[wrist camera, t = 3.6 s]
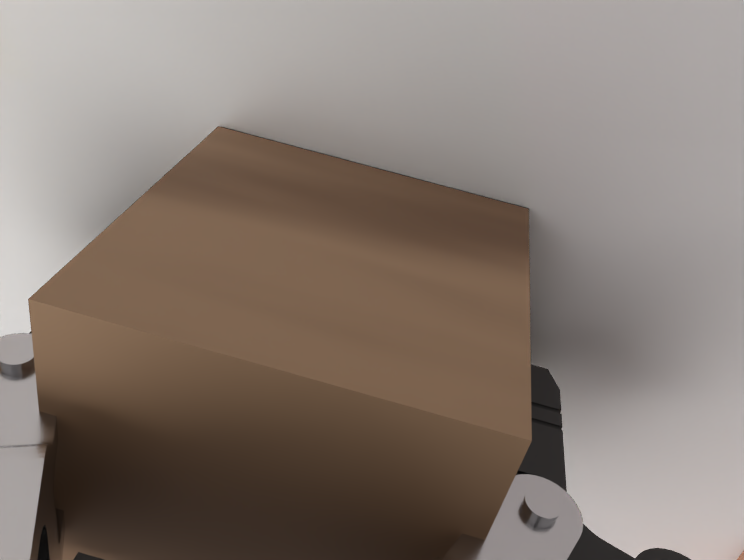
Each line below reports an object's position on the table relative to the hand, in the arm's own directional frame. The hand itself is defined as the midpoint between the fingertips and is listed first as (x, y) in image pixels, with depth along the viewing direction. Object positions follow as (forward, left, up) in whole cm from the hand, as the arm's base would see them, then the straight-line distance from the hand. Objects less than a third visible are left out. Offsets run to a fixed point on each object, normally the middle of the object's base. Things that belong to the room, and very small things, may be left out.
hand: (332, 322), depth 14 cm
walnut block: (0, 0, -1) cm, 1 cm away
